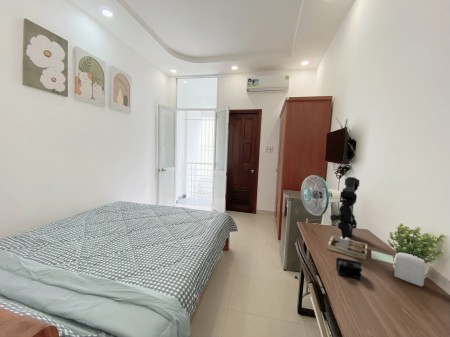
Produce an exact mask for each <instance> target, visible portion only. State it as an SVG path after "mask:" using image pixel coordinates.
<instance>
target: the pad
mask: <svg viewBox="0 0 450 337" xmlns="http://www.w3.org/2000/svg"><path fill="white" fill-rule="evenodd" d="M370 254H371V256H370V257H371V259H372V260H375V261H379V262H382V263H386V264H390V265H393V264H392V263H393V260H394V261H395V259H394V255H390V254H387V253H384V252H383V253H382V252H380V251H374V250H371V253H370Z"/></svg>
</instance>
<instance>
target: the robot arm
mask: <svg viewBox="0 0 450 337" xmlns="http://www.w3.org/2000/svg"><path fill="white" fill-rule="evenodd" d="M360 184H361V183H360V179H358V178H356V177H353V176H352V177H351V176H347V177H346V178H344V186H345V187H344V188H342V191H340V195H339V203H341V206H339V212H337V213H332V214H330V216H329V217H330V220H331V222H334V221H339V222H338V223H337V228H338V229H339V230H340V231H341V236H342V238H343V239H345V238H346V237H348V238H353V237H354V233H353V229H354V230H355V229H357V226H358V222H357V220H356V217H355V214H354V205H355V204H356V203H357V199H358V195H357V193H356V191H357V190H358V188H359V187H360Z"/></svg>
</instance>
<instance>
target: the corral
mask: <svg viewBox="0 0 450 337" xmlns="http://www.w3.org/2000/svg"><path fill="white" fill-rule="evenodd" d="M339 240H340V237H339V236H335V235H331V237H330V238H329V241H328V243H327V247H326V249H327V250H329V251H332V252H336V253H340V254H342V255H347V256H350V257H354V258H357V259H362V260H364V261H366V260H367V254H368V244H367V243H365V242H359V241H358V240H357V241H356V240H352V239H349V243H348V245H350V246H351V245H352V246H353V242H358V243H361V244H362V249H363V248H364V253H362V252H358V251H354V250H350V249H348V250H346V249H343V248H339V246H334V245H332V244H333V242H334V241H335V242H339Z"/></svg>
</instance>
